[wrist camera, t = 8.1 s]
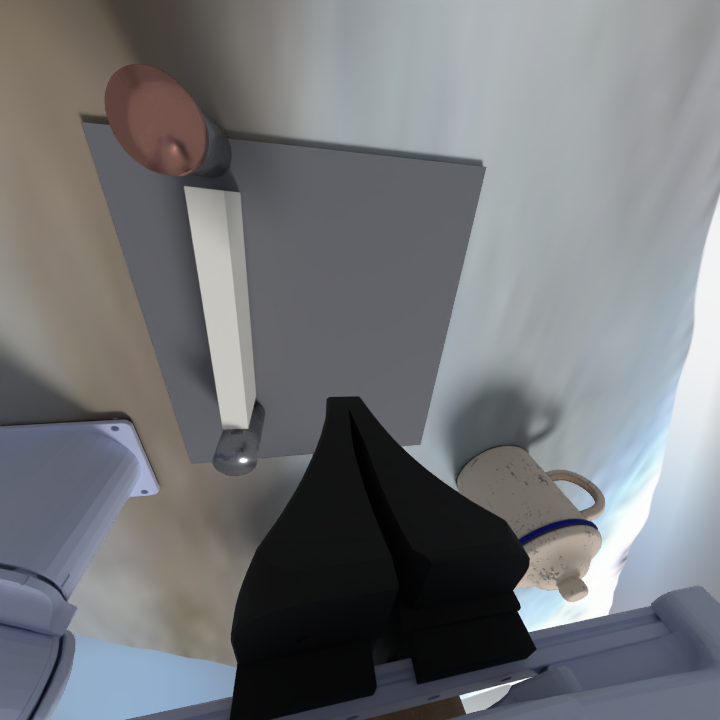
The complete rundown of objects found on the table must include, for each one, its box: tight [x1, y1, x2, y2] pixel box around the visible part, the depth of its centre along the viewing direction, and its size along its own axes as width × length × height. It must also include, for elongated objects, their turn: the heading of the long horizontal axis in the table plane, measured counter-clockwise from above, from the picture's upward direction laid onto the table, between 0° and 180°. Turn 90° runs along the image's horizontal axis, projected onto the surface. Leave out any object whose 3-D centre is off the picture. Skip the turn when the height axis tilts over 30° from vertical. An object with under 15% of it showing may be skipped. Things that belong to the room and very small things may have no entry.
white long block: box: [184, 186, 256, 429], centre depth 16 cm, size 13×2×4 cm, turn 173°
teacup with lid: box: [457, 446, 605, 602], centre depth 27 cm, size 12×9×12 cm
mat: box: [81, 122, 486, 464], centre depth 20 cm, size 20×22×1 cm
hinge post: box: [212, 401, 265, 476], centre depth 20 cm, size 3×3×5 cm
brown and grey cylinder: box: [105, 64, 232, 178], centre depth 12 cm, size 3×3×6 cm
